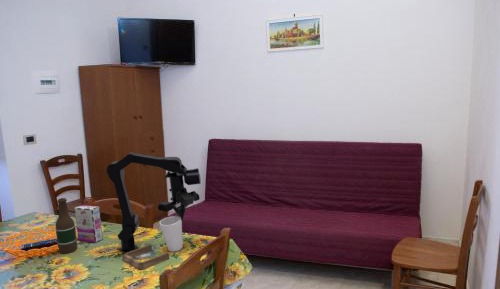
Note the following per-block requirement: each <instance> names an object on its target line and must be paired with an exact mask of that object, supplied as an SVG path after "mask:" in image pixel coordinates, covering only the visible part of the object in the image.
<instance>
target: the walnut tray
mask: <svg viewBox="0 0 500 289" xmlns="http://www.w3.org/2000/svg"><path fill="white" fill-rule="evenodd" d="M151 251H153V248H152V244H150V243H149V244H147V245H144V246H142V247H138V249H136V250H133V251H130V252H128V253H123V254H121V256H122V258H121V259H122V261H123V262H125V263H127V264H129V265H131V267H134V268H135V269H138V270H140V271H143V270H145V269H148V268H150V267H152V266H155V265H157V264H159V263H162V262H164V261H167V260H170V253H169V252H164V253H162V254H159V255H156V256H154V257H151V258H149V259H147V260H144V261H140V260H138V259H136V257H138V256H141V255H144V254H147V253H149V252H151Z"/></svg>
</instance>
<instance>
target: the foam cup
mask: <svg viewBox="0 0 500 289" xmlns="http://www.w3.org/2000/svg"><path fill="white" fill-rule="evenodd" d="M182 221H183V220H181V217H179V216H178V215H172V216H168V217H164V218H162V219H161V220H160V221H159V230H161V233H162V236H163V239H164V242H165V244H166V247H167V250H168V251H170V252H177V251H180V250H182V249H183V245H184V244H183V226H182V225H183V223H182Z"/></svg>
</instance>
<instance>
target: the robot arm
mask: <svg viewBox="0 0 500 289" xmlns="http://www.w3.org/2000/svg"><path fill="white" fill-rule="evenodd" d="M182 162H183V161H182V160H181V159H180V157H178V156H164V157H162V156H161V157H159V156H154V155H148V154H142V153H136V152H133V151H132V152H129V153H128V154H126V156H124V157H123V158H122V159H120V160H115V161H113V162H111V163H110V164H109V165H108V166H107V167H106V173H107V176H108V178H109V180H110V182H111V183H112V184H113V186H114V189H115V193H116V197H117V201H118V204H119V208H120V211H121V230H120V231H119V233H118V234H117V238H118V241H120V244H121V246H120V247H119V248H117V249H118V251H120V252H122V253H123V254H125V253H128V252H130V251H133V250H136V249H139V247H138V246H136V244H135V243H136V242H135V232H136V231H137V229H138V228H139V226H140V222H141V220H140V219H139V214H138V213H134V212H133V211H134V210H132V206H131V201H130V197H129V194H128V191H127V187H126V182H125V175H126V174H125V173H126V171H125V168H126V167H128V166H129V165H131V164H138V165H144V166H150V167H156V168H160V169H163V170H164V171H167V173H166V174H165V176H164V178H165V179H169V183H170V188H169V189H168V191H169V192H171V197H170V199H169V200H170V201H167V200H165V201H162V202H159V203H158V205H157V210H158V211H161V212H166V213H167V212H170V211H172V210H173V211H174V212H175V214H176V216H179V217H181V221H183V220H184V215H185V212H186V209H187V207H188V206H190V205H193V204H194V202H196V201H199V200H200V195H199V193H197V191H196V190H192V191H190V192H188V191H187V187H185V184H186V185H188V186H192V185H193V186H194V185H200V184H201V174H200V171H199V170H200V169H199V168H198V167H197V168H194V169H188V168H187V167H186V166H185V165H184V164H183V163H182Z"/></svg>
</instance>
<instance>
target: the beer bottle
mask: <svg viewBox="0 0 500 289" xmlns="http://www.w3.org/2000/svg"><path fill="white" fill-rule="evenodd" d="M57 204H58V206H57V207H58V218H57V219H56V222H55V234H56V242H57V249H58V248H59V250H58V252H59V253H60V254H61V255H68V254H72V253H74V252H75V251H77V250H78V238H77V232H76V231H77V230H76V223H75V221H74V220H73V218H72V217H71V215H70V213H69V209H68V205H67V204H68V203H67V198H66V197H62V198H58V199H57Z"/></svg>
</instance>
